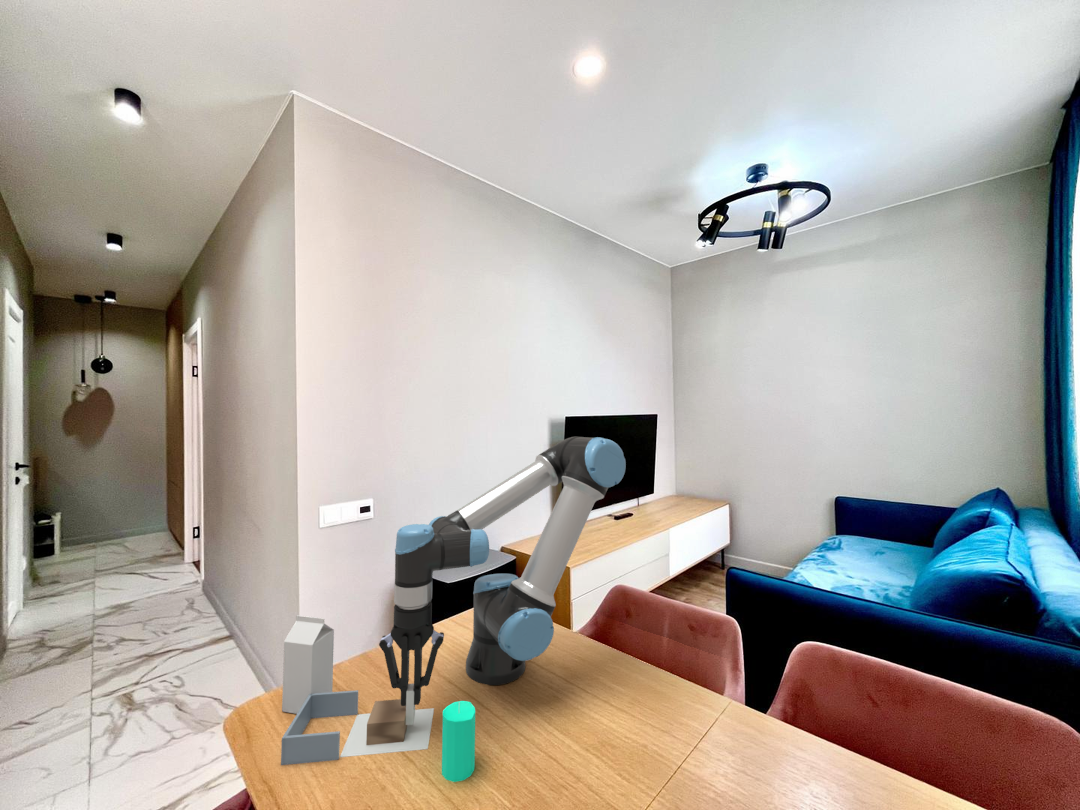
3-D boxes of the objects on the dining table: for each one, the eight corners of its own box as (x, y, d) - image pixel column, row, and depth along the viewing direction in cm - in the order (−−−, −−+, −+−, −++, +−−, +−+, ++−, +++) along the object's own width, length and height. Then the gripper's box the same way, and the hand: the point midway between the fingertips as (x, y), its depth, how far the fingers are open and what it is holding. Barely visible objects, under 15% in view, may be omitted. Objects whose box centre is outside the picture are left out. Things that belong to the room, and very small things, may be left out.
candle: (446, 788, 75) (447, 716, 75) (437, 764, 80) (438, 697, 81) (479, 776, 78) (480, 706, 78) (468, 753, 83) (469, 688, 84)
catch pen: (357, 714, 94) (358, 690, 94) (338, 761, 81) (338, 733, 81) (308, 718, 92) (309, 693, 93) (280, 766, 79) (281, 738, 80)
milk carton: (310, 716, 93) (312, 625, 94) (281, 712, 94) (284, 622, 95) (332, 696, 100) (334, 611, 101) (305, 692, 101) (307, 609, 102)
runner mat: (434, 709, 95) (434, 708, 95) (427, 750, 84) (427, 748, 84) (357, 715, 93) (357, 714, 93) (339, 758, 81) (339, 757, 81)
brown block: (409, 717, 92) (409, 698, 92) (403, 741, 85) (404, 720, 86) (374, 720, 91) (375, 701, 91) (366, 745, 84) (366, 723, 85)
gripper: (446, 593, 95) (444, 705, 94) (384, 596, 93) (381, 710, 92) (444, 608, 87) (441, 730, 86) (376, 611, 85) (372, 736, 84)
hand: (410, 720), depth 89 cm, fingers closed
